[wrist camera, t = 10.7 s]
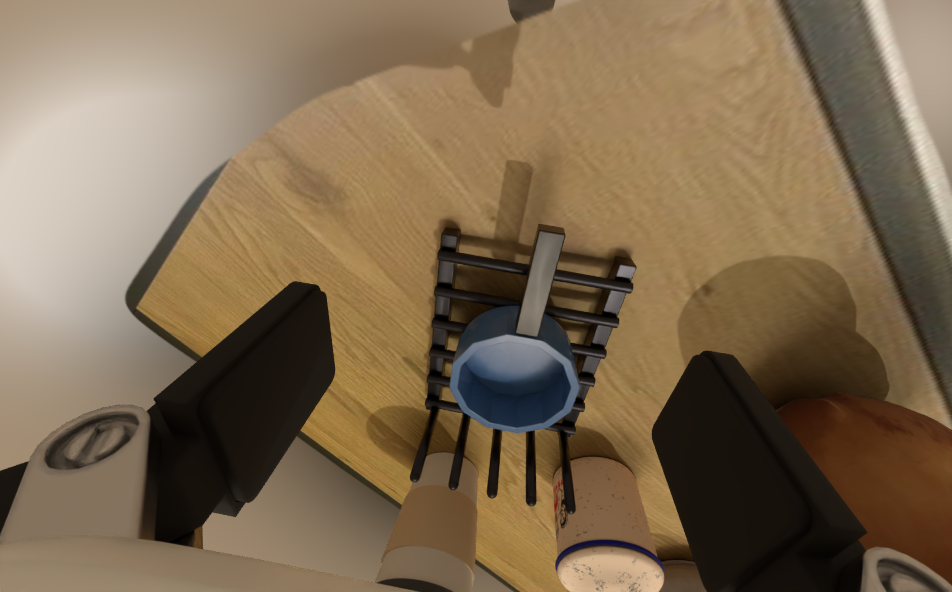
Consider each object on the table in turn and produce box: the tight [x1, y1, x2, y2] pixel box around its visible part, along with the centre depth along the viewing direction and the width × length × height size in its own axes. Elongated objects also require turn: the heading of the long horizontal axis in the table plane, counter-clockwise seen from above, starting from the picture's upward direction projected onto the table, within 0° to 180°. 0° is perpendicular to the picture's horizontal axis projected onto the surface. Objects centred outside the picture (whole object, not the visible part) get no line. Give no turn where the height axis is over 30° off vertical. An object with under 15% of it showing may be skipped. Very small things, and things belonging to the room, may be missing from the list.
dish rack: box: [410, 227, 637, 515], centre depth 27 cm, size 18×14×9 cm
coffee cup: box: [375, 452, 478, 592], centre depth 35 cm, size 9×9×15 cm
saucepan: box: [449, 224, 580, 433], centre depth 25 cm, size 16×9×4 cm, turn 173°
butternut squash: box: [776, 392, 952, 585], centre depth 20 cm, size 14×13×25 cm
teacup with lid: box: [553, 457, 664, 592], centre depth 34 cm, size 12×9×12 cm
